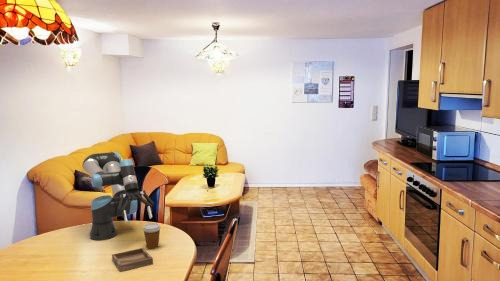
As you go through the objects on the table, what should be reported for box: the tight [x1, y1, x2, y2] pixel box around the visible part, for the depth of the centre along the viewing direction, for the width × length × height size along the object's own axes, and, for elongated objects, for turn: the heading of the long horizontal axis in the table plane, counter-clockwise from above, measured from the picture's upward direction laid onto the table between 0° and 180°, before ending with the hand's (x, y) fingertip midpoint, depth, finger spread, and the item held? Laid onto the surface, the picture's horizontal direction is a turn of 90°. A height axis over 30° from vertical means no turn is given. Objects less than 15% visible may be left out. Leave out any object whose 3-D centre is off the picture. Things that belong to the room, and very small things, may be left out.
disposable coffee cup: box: [142, 223, 161, 250], centre depth 223 cm, size 10×10×12 cm
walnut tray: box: [111, 247, 154, 273], centre depth 204 cm, size 16×16×3 cm
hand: (138, 220), depth 222 cm, fingers open, 13 cm apart
